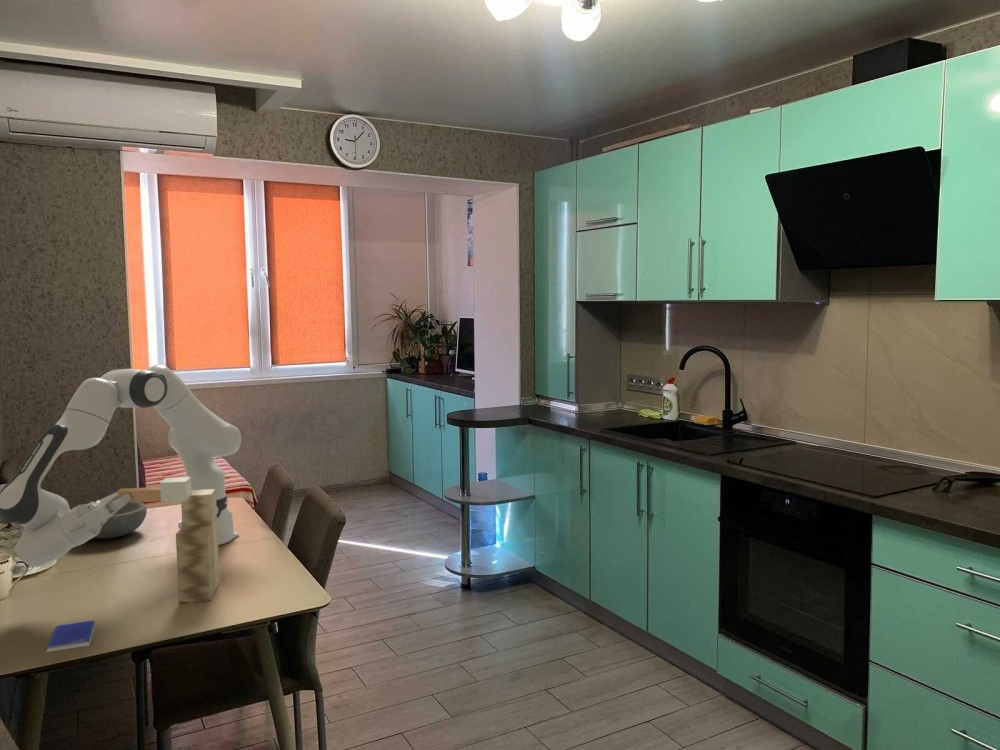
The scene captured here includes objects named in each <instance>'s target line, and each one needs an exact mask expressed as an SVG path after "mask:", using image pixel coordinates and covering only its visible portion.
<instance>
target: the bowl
mask: <svg viewBox="0 0 1000 750" xmlns="http://www.w3.org/2000/svg"><path fill="white" fill-rule="evenodd" d="M147 512H148V510H147V506H146V504H145V502H134V503H127V504H126V505H125V506H123V507H122V508H121V509H120V510H118V511H117V512H116V513H115V514H113V515H112V516H111V517H110V518H108V519H107V521H106V522H105V524H104V525H103V526H102V528H101V530H100V533H99V534H98V535H97V536H95V537H93V538H92V539H110V538H112V539H113V538H118V537H122V536H127V535H128V534H129V535H130V534H131V533H133V532H134V531H136V530H137V529H138V528H139V527H141V525H142V524H143V522H144V521H145V519H146V517H147Z"/></svg>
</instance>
